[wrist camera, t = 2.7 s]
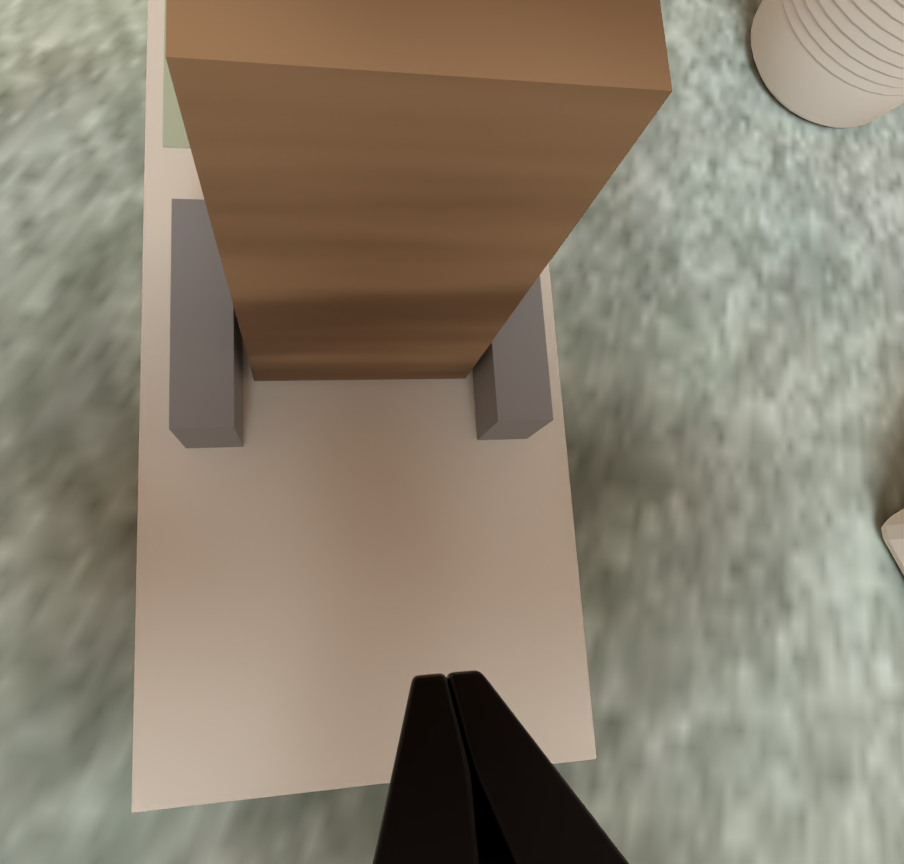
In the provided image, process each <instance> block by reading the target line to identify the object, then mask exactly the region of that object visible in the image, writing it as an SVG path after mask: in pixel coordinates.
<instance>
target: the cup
mask: <svg viewBox="0 0 904 864" xmlns="http://www.w3.org/2000/svg"><path fill="white" fill-rule="evenodd" d="M751 48H752V52H753V57H754V61H755V63H756V66H757V69H758V71H759V74H760V76H761V78H762V80H763V82H764V83H765V85H766V86H767V88H768V90H769V91H770V92H771V93H772V94H773V96H774V97H775V98H776V99H777V100H778V101H779V102H780V103H781V104H782V105H784V106H785V107H786V108H787V109H788V110H790V111H791V112H793V113H795V114H796V115H798V116H800V117H801V118H803V119H806V120H808V121H811V122H813V123H817V124H820V125H824V126H829V127H834V128H851V127H856V126H861V125H865V124H867V123H869V122H871V121H873V120H875V119H877V118H879V117H881V116H882V115H884V114H886V113H887V112H889V111H891V110H893V109H894V108H896V107H898V106H899V105H901V104H903V103H904V0H762V2H761V4H760V6H759V8H758V10H757V12H756V14H755V16H754V19H753V24H752V28H751Z"/></svg>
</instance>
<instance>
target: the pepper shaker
mask: <svg viewBox="0 0 904 864" xmlns="http://www.w3.org/2000/svg"><path fill="white" fill-rule="evenodd" d="M881 530H882V536H883V539H884V541H885V543H886V545H887V547H888V548H889V550H890V552H891V554H892V556H893V557H894V559H895V561H896V563H897V565H898V566H899V568H900V570H901V572H902V573H903V575H904V509H902V510H900V511H899V512H897V513H895V514H894V515H892V516H891V517H890V518H889V519H888V520H887V521H886V522H885V523H884V524H883V526H882V527H881Z"/></svg>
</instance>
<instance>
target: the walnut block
mask: <svg viewBox="0 0 904 864" xmlns="http://www.w3.org/2000/svg"><path fill="white" fill-rule="evenodd" d="M165 57H166V61H167V64H168V68H169V72H170V75H171V79H172V83H173V86H174V90H175V94H176V97H177V101H178V105H179V108H180V112H181V116H182V119H183V123H184V127H185V130H186V134H187V137H188V141H189V145H190V148H191V152H192V156H193V159H194V163H195V167H196V170H197V174H198V178H199V181H200V185H201V189H202V192H203V196H204V200H205V203H206V207H207V211H208V214H209V218H210V222H211V225H212V229H213V233H214V236H215V240H216V244H217V247H218V251H219V255H220V258H221V262H222V265H223V269H224V273H225V276H226V280H227V284H228V287H229V291H230V295H231V298H232V302H233V306H234V309H235V313H236V317H237V320H238V324H239V328H240V331H241V335H242V339H243V342H244V346H245V350H246V353H247V357H248V361H249V364H250V368H251V372H252V375H253V379H254V381H300V380H385V379H465V378H466V377H467V376H468V374H469V373H470V371H471V370H472V369H473V367H474V366H475V364H476V363H477V362H478V360H479V359H480V357H481V356H482V355H483V353H484V352H485V351H486V349H487V348H488V346H489V345H490V344H491V342H492V341H493V339H494V338H495V337H496V335H497V334H498V332H499V331H500V330H501V328H502V327H503V325H504V324H505V323H506V321H507V320H508V319H509V317H510V316H511V314H512V313H513V312H514V310H515V309H516V307H517V306H518V305H519V303H520V302H521V300H522V299H523V298H524V296H525V295H526V294H527V292H528V291H529V289H530V288H531V287H532V285H533V284H534V282H535V281H536V280H537V278H538V277H539V275H540V274H541V273H542V271H543V270H544V268H545V267H546V266H547V264H548V263H549V262H550V260H551V259H552V257H553V256H554V255H555V253H556V252H557V250H558V249H559V248H560V246H561V245H562V243H563V242H564V241H565V239H566V238H567V237H568V235H569V234H570V232H571V231H572V230H573V228H574V227H575V225H576V224H577V223H578V221H579V220H580V218H581V217H582V216H583V214H584V213H585V212H586V210H587V209H588V207H589V206H590V205H591V203H592V202H593V200H594V199H595V198H596V196H597V195H598V193H599V192H600V191H601V189H602V188H603V186H604V185H605V184H606V182H607V181H608V180H609V178H610V177H611V175H612V174H613V173H614V171H615V170H616V168H617V167H618V166H619V164H620V163H621V161H622V160H623V159H624V157H625V156H626V155H627V153H628V152H629V150H630V149H631V148H632V146H633V145H634V143H635V142H636V141H637V139H638V138H639V136H640V135H641V134H642V132H643V131H644V130H645V128H646V127H647V125H648V124H649V123H650V121H651V120H652V118H653V117H654V116H655V114H656V113H657V111H658V110H659V109H660V107H661V106H662V104H663V103H664V102H665V100H666V99H667V98H668V96H669V95H670V93H671V92H672V86H671V78H670V71H669V64H668V57H667V49H666V42H665V35H664V28H663V21H662V13H661V6H660V0H166V52H165Z"/></svg>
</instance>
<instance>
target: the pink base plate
mask: <svg viewBox="0 0 904 864" xmlns="http://www.w3.org/2000/svg"><path fill="white" fill-rule="evenodd" d="M165 52H166V0H148V27H147V76H146V125H145V174H144V224H143V273H142V322H141V371H140V420H139V470H138V519H137V568H136V617H135V666H134V716H133V765H132V813H133V812H142V811H151V810H159V809H168V808H176V807H185V806H194V805H202V804H211V803H220V802H228V801H237V800H246V799H254V798H263V797H272V796H280V795H289V794H298V793H306V792H315V791H323V790H332V789H341V788H349V787H358V786H367V785H375V784H384V783H390V780H391V775H392V770H393V766H394V761H395V756H396V752H397V747H398V742H399V738H400V733H401V728H402V723H403V719H404V714H405V709H406V705H407V700H408V695H409V691H410V686H411V682H412V679H413V678H414V677H415V676H417V675H426V674H437V673H441V674H444V675H445V676H446V677H447V675H448V674H449V673H451V672H460V671H471V670H476V671H479V672H481V673H482V674H483V675H484V676H485V677H486V678H487V680H488V681H489V682H490V684H491V685H492V686H493V687H494V689H495V690H496V691H497V693H498V694H499V695H500V697H501V698H502V699H503V700H504V702H505V703H506V704H507V706H508V707H509V708H510V710H511V711H512V712H513V713H514V715H515V716H516V717H517V719H518V720H519V721H520V723H521V724H522V725H523V726H524V728H525V729H526V730H527V732H528V733H529V734H530V736H531V737H532V738H533V739H534V741H535V742H536V743H537V745H538V746H539V747H540V749H541V750H542V751H543V752H544V754H545V755H546V756H547V758H548V759H549V760H550V762H551V763H552V764H557V763H565V762H574V761H583V760H591V759H596V749H595V738H594V728H593V717H592V707H591V697H590V686H589V676H588V665H587V655H586V645H585V634H584V624H583V613H582V603H581V593H580V582H579V572H578V561H577V551H576V541H575V530H574V520H573V509H572V499H571V489H570V478H569V468H568V457H567V447H566V437H565V426H564V416H563V405H562V395H561V385H560V374H559V364H558V353H557V343H556V333H555V322H554V312H553V301H552V291H551V281H550V270H549V263H548V264H547V266H546V267H545V268H544V270H543V271H542V273H541V274H540V275H539V277H538V278H537V280H536V281H535V282H534V284H533V285H532V287H531V288H530V289H529V291H528V292H527V294H526V295H525V296H524V298H523V299H522V300H521V302H520V303H519V305H518V306H517V307H516V309H515V310H514V312H513V313H512V314H511V316H510V317H509V319H508V320H507V321H506V323H505V324H504V325H503V327H502V328H501V330H500V331H499V332H498V334H497V335H496V337H495V338H494V339H493V341H492V342H491V344H490V345H489V346H488V348H487V349H486V351H485V352H484V353H483V355H482V356H481V357H480V359H479V360H478V362H477V363H476V364H475V366H474V367H473V369H472V370H471V371H470V373H469V374H468V376H467V377H466V378H465V379H385V380H300V381H254V379H253V375H252V372H251V368H250V364H249V361H248V357H247V353H246V350H245V346H244V342H243V339H242V335H241V331H240V328H239V324H238V320H237V317H236V313H235V309H234V306H233V302H232V298H231V295H230V291H229V287H228V284H227V280H226V276H225V273H224V269H223V265H222V262H221V258H220V255H219V251H218V247H217V244H216V240H215V236H214V233H213V229H212V225H211V222H210V218H209V214H208V211H207V207H206V203H205V200H204V196H203V192H202V189H201V185H200V181H199V178H198V174H197V170H196V167H195V163H194V159H193V156H192V152H191V148H190V145H189V141H188V137H187V134H186V130H185V127H184V123H183V119H182V116H181V112H180V108H179V105H178V101H177V97H176V94H175V90H174V86H173V83H172V79H171V75H170V72H169V68H168V64H167V61H166V57H165Z"/></svg>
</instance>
